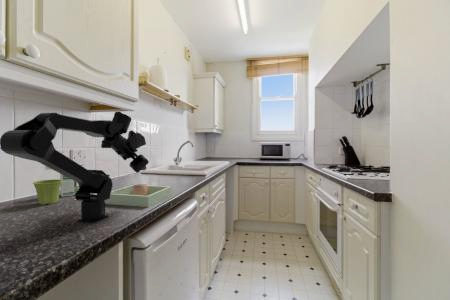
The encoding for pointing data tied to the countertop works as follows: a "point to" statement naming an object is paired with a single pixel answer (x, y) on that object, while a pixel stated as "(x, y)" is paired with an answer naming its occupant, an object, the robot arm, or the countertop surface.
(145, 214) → the countertop surface
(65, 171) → the robot arm
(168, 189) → the green square tray
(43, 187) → the plant pot
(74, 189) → the syrup box
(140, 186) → the seedling pot
